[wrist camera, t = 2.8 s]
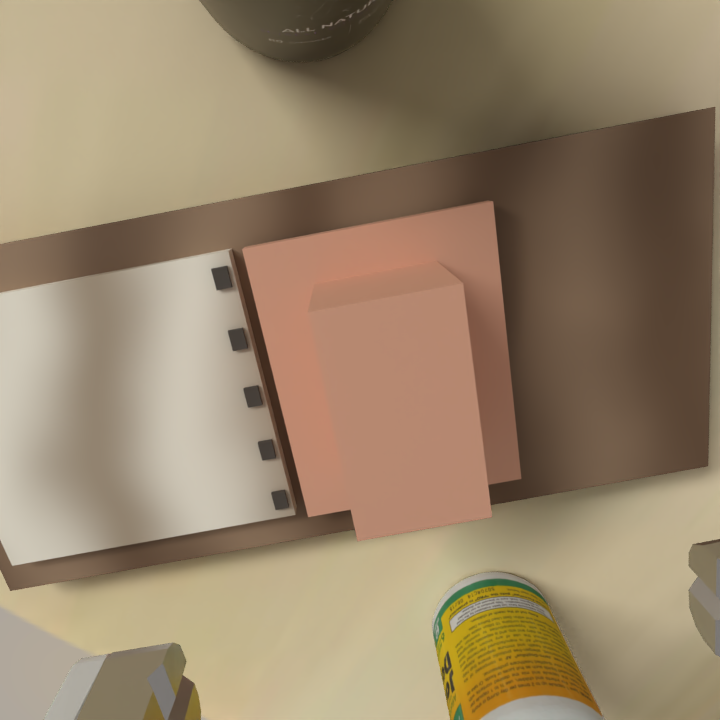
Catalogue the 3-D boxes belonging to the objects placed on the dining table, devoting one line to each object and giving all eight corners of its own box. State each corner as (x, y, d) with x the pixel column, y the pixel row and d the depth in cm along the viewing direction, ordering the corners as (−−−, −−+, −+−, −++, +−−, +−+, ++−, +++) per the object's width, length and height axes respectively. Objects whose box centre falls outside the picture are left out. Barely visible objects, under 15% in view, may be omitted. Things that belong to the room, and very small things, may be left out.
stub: (488, 200, 18) (537, 207, 14) (516, 470, 21) (563, 547, 17) (244, 246, 18) (215, 269, 14) (309, 508, 21) (301, 593, 17)
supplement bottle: (561, 637, 26) (681, 885, 17) (454, 676, 26) (514, 938, 17) (525, 549, 24) (636, 771, 15) (412, 592, 25) (454, 832, 16)
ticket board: (686, 112, 19) (731, 103, 17) (685, 448, 23) (720, 476, 21) (-106, 264, 20) (-160, 275, 17) (30, 566, 24) (-1, 604, 21)
